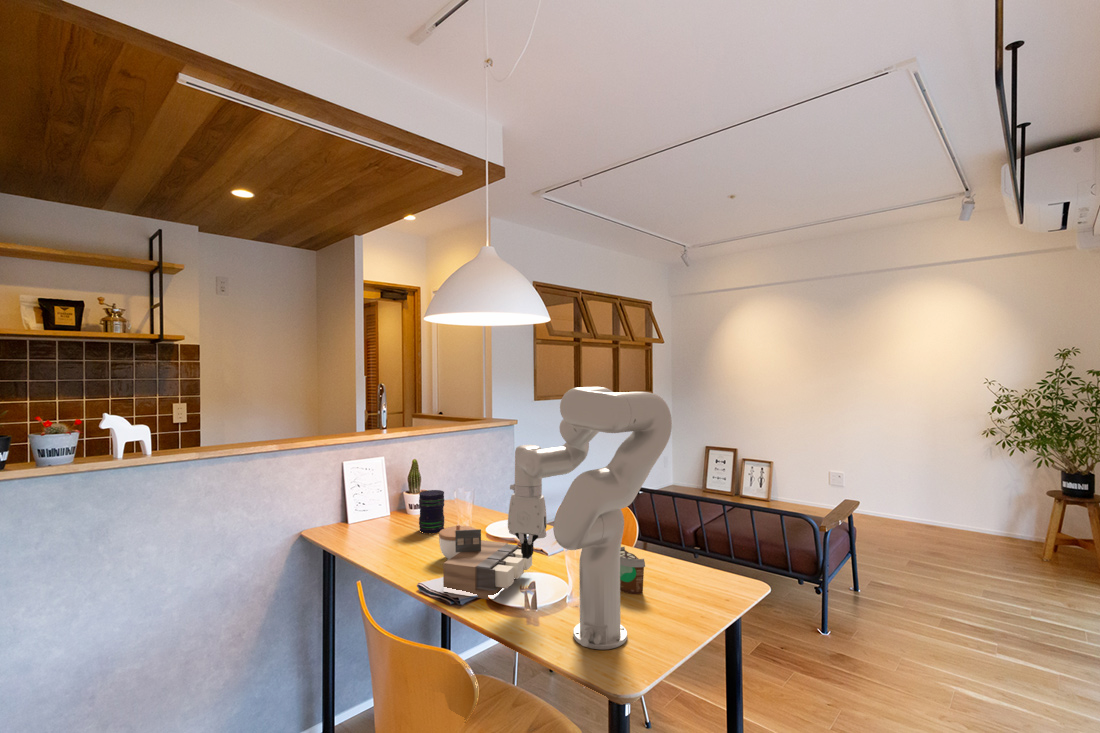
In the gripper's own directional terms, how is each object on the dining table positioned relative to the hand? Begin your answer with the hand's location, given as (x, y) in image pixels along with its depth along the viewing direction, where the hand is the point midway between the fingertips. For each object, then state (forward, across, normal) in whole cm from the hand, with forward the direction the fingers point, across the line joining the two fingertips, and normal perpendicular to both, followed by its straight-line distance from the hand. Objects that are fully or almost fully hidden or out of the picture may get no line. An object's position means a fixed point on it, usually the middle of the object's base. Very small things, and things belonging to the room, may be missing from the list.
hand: (527, 556), depth 144 cm
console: (+12, -17, +6) cm, 21 cm away
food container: (+11, +24, +14) cm, 31 cm away
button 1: (+8, -7, -1) cm, 11 cm away
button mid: (+9, -7, +6) cm, 13 cm away
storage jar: (+14, -60, +46) cm, 77 cm away
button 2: (+9, -7, +13) cm, 17 cm away
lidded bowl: (+13, -34, +21) cm, 42 cm away
